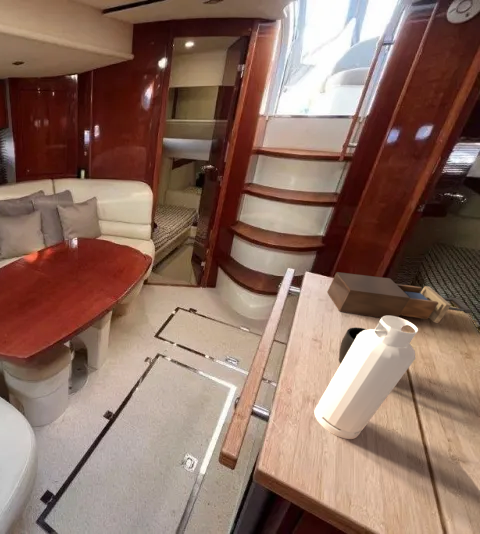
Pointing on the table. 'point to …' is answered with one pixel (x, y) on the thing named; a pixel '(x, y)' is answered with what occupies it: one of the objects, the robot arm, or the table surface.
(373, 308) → the cabinet
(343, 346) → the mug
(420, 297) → the block
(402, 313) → the drawer
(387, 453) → the table surface
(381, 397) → the bottle
